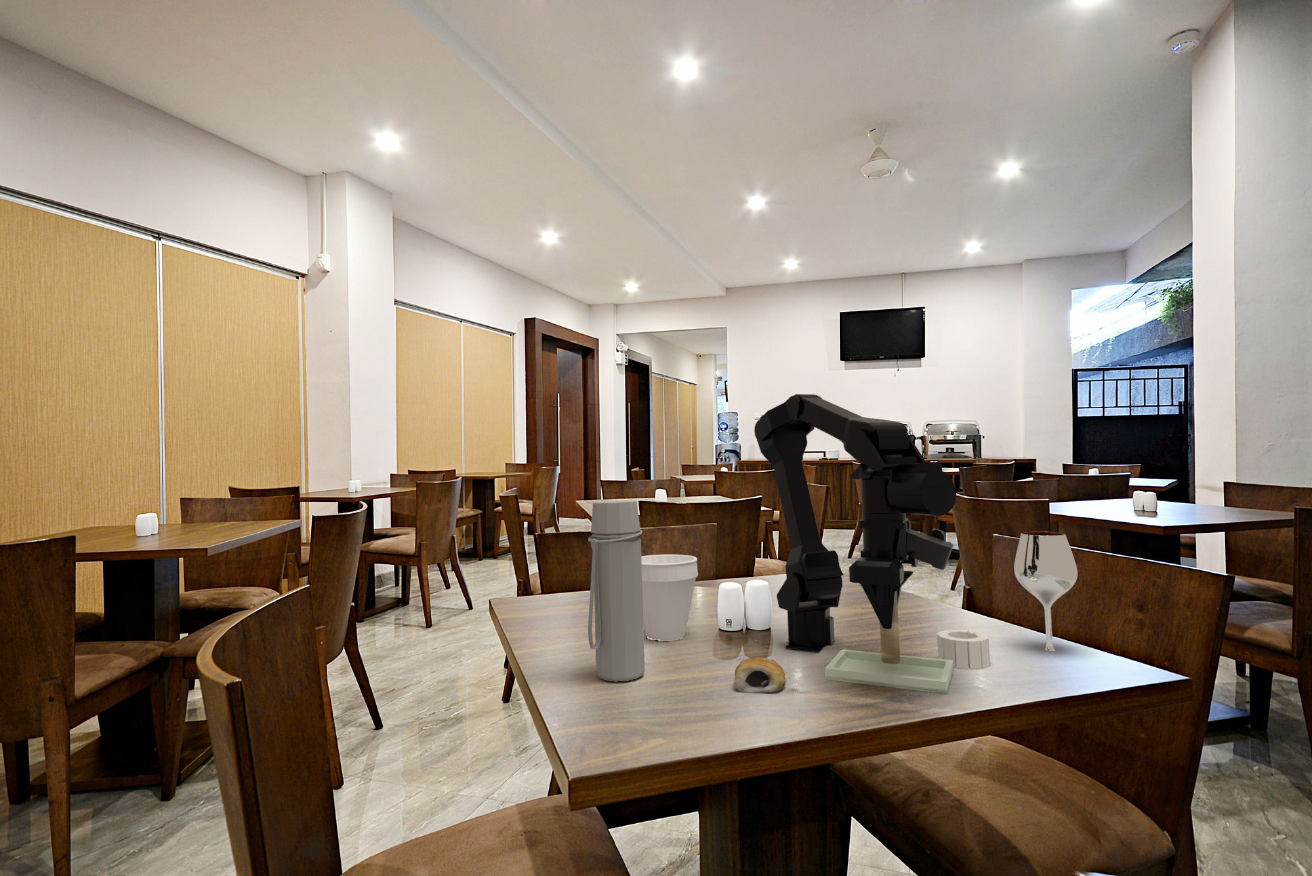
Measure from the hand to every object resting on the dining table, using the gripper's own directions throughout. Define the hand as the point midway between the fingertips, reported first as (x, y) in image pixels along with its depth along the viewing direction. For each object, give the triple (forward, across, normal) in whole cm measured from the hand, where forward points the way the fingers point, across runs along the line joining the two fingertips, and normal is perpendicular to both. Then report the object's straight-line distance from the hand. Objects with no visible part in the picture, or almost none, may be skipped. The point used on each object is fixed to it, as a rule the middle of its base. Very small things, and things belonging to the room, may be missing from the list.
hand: (888, 626), depth 90 cm
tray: (+7, -1, 0) cm, 7 cm away
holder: (+7, +9, -8) cm, 14 cm away
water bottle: (+7, -14, +36) cm, 39 cm away
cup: (+7, +9, +40) cm, 41 cm away
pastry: (+8, -9, +16) cm, 20 cm away
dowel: (+5, 0, 0) cm, 5 cm away
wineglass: (+7, +20, -20) cm, 29 cm away
